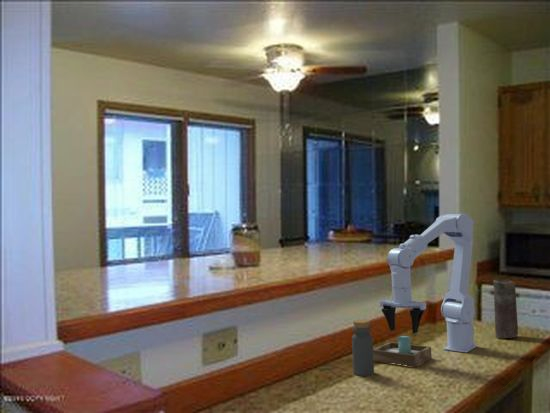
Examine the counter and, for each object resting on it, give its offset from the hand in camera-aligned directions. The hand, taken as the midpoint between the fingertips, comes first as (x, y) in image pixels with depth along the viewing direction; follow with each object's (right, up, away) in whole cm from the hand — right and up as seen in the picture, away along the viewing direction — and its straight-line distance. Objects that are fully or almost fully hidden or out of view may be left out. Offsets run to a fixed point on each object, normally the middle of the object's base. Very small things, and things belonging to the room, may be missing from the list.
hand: (403, 331), depth 174 cm
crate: (0, -9, +1) cm, 9 cm away
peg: (0, -9, 0) cm, 9 cm away
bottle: (-14, -10, -11) cm, 21 cm away
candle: (+41, -7, +23) cm, 48 cm away
